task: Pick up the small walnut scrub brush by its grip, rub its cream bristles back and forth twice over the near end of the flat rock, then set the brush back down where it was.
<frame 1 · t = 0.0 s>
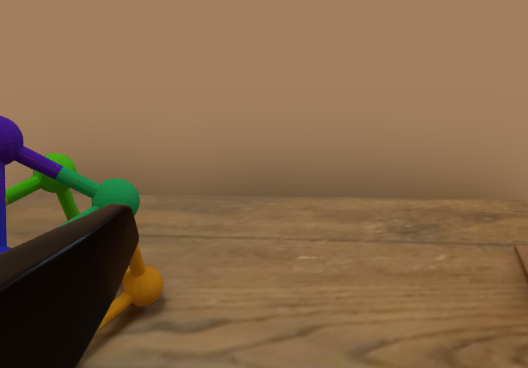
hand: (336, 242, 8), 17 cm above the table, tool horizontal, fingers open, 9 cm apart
model: (68, 338, 28), on the table
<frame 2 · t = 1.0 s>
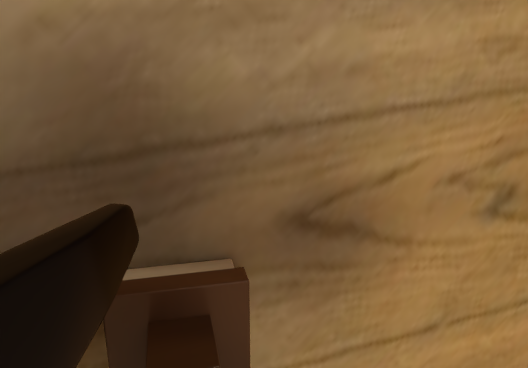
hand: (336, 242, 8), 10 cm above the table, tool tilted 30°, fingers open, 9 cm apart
scrub brush: (181, 349, 20), on the table
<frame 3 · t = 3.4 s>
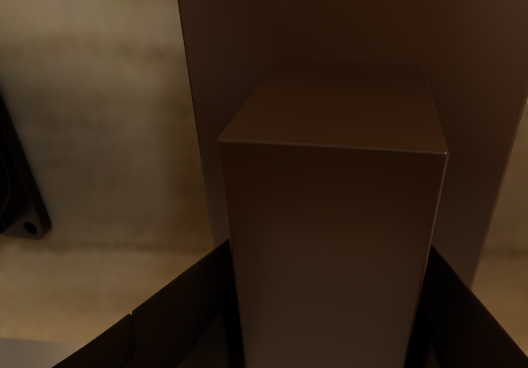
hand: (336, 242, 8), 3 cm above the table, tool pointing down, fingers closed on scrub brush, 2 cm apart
scrub brush: (345, 168, 11), on the table, touching gripper
when the fingers open (3 cm above the table, at t = 14.2 s): scrub brush stays where it is, on the table.
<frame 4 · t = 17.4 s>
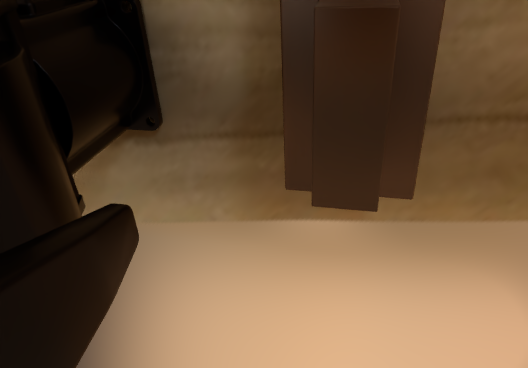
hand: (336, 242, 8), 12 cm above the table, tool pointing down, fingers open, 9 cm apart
scrub brush: (356, 69, 18), on the table
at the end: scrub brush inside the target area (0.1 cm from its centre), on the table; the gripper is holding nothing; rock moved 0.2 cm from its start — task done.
